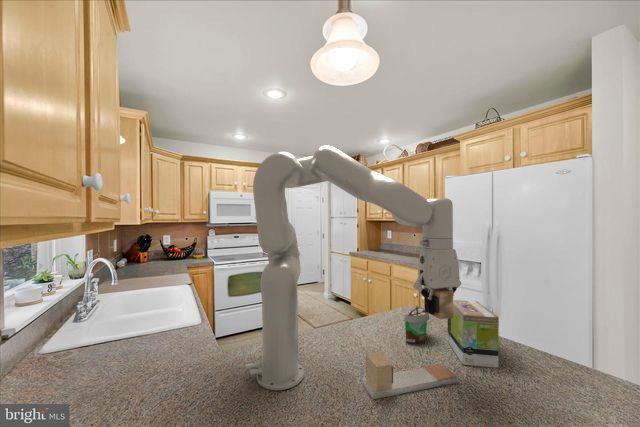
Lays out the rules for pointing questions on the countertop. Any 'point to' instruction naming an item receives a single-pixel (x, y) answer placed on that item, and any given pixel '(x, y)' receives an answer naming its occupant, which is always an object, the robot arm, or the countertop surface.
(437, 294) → the block
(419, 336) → the food container
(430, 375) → the rail
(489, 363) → the tea box
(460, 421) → the countertop surface
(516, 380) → the countertop surface
